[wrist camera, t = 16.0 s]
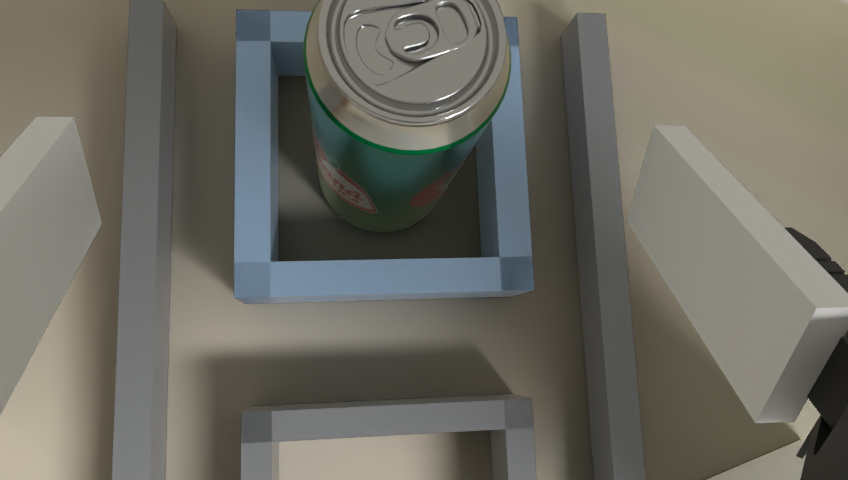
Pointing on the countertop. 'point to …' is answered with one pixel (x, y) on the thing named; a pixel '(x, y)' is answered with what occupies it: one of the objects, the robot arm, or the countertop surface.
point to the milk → (769, 466)
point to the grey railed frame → (370, 279)
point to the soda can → (400, 100)
